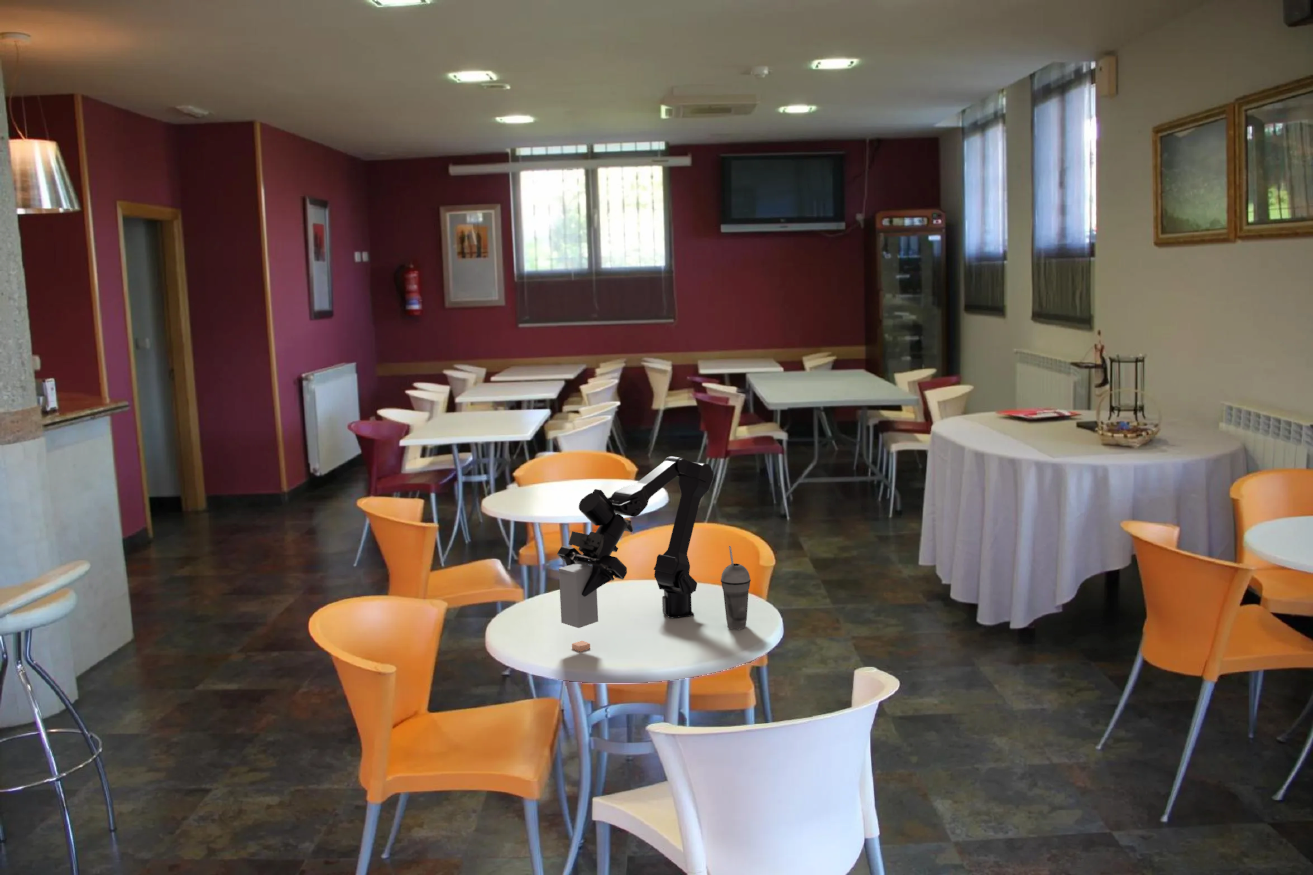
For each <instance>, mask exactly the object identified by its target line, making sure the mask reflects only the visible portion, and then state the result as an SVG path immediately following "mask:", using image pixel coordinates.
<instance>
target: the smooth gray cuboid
mask: <svg viewBox="0 0 1313 875" xmlns="http://www.w3.org/2000/svg"><path fill="white" fill-rule="evenodd" d="M591 574H592V566H591V565H586V564H582V563H575V564H572V565H568V566H567V565H565V566H562V567H559V568H558V578H559V580H558V581H559V597H560V598H559V601H560V617H561V618H560V619H561V620H560V622H561V624H565V625H568V626H571V627H574V628H578V629H581V628H584V627H586V626H589V625H591V624H595V623H598V622H599V614H598V612H599V608H598V591H597V590H598V588H597V589H596V590H594V591H593V592H591V593H590V594H589V595H587V596H586V597H584V596H583V595H582V592H583V589H584V587H585V585H586V583H587V582H588V580H589V578H590V576H591Z"/></svg>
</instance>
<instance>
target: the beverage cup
mask: <svg viewBox="0 0 1313 875" xmlns="http://www.w3.org/2000/svg"><path fill="white" fill-rule="evenodd" d="M728 549H729V556H730V564H729V565H727V566H726V567H725V568H724V570H723V571H722V573H721V577H720V582H721V588H722V591H723V600H724V601H723V602H724V608H725V609H724V610H725V618H726V620H725V621H726V625H727V628H728V629H730V630H744V629H746V628H747V621H748V605H749V589H750V586H751V576H750V573H749V570H748V569H747V568H746V567H745V566H744V565H743V564H740V563H734V558H733V551H732V546H731V545H728Z"/></svg>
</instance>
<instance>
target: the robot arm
mask: <svg viewBox="0 0 1313 875" xmlns="http://www.w3.org/2000/svg"><path fill="white" fill-rule="evenodd" d="M714 475H715V474H714V470H713V469H712V467H711V465H710V464H708V463H704V462H694V461H689V460H686V459H684V458H683V457H677V456H668V457H666V458H665V459H664V460H663V462H661V463H660V464H659V465H658V466H656V467H655V468H654V469H652V470H651V471H650V472H649V473H648V474H646V475H645V476H643V477H642V478H641V479H639V481H637V482H635V483H633V484H631V485H626V486H623V487H621V488H619V489H617V490H616V491H614V492H613V493H612V494H611V496H608V497H607V496H606V495H605V493H604V492H603V490H601V489H597V488H595V489H593V492H590V493H588V494H587V495H585V496H584V497H583V498H581V499H580V501H579V504H578V510H579V511H580V512H581V514H582V515H584V517H586V518H587V520H589V522H591V524H592V525H594V526H597V529H596V530H595V532H594V531H590V532H589V533H588V534H587V533H582V532H578V531H571V534H570V537H569V541H568V545H569V546H567V545H563V546H561V547H560V548H559V550H557V554H556V555H557V556H558V557H559V558H560V559H561V560H563V562H564V563H565V564H566V565H565V566H568V565H572V564H575V563H582V564H586V565H590V566H592V574H591V576H590V578H589V580H588V582H587V583H586V585H585V587H584V589H583V592H582V595H583V596H584V597H586V596H587V595H589V594H590V593H591V592H593V591H594V590H596V589H597V590H598V589H599V588H600V587H602V586H604V585H605V584H608V583H609V582H611V581H614V580H615V579H619V580H622V581H623V580H624V579H625V577H626V575H627V574H628V567H627V566H626V565H625V564H624V563H623V562H622V561H621V560H620V559H619V558H618V557H617V556H613V555H612V553H617V552H618V550H619V547H617V545H618V542H619V541H620V540H621V538H622V536H623V534H624V532H629V533H633V531H634V530H633V526H632V520H630V519H626V518H624V517H623V516H627V517H633V518H636V517H639V515H640V514H641V513H643V511H644V510H645V509H646V508H647V506H648V503H649V500H650V499H651V498H652V497H653V496H654V495H655V494H656V493H658V492H660V490H661V489H663V488H664V487H665V486H666V485H668V484H669V483H670V482H672V481H673V480H674V479H676V477H677V478H678V481H677V482H678V487H679V491H680V499H679V502H678V507H677V511H676V515H675V519H674V523H673V526H672V530H671V535H670V538H669V543H668V547H667V549H666V551H665V552H664V553H663V554H660V553H659V554H657V556H656V562H655V565H654V567H653V571H654V574H653V576H654V578H655V580H656V582H657V586H658V589H659V590H662V591H663V595H662V597H661V599H662V600H661V602H662V603H661V604H662V613H664V615H665V616H666V617H667V618H668V619H675V618H676V619H677V618H684V617H691V616H692V617H693V616H695V613H694V612H693V611H692V607H693V606H692V594H693V593H694V592H696V591H697V586H698V582H697V581H696V580H695V579H694V578H693V577H692V576H691V575H690V570H691V563H690V561H689V556H688V550H689V547H690V543H691V539H692V535H693V530H694V528H695V522H696V519H697V515H698V511H699V507H700V502H701V500H702V498H703V497H704V496H705V494H707V493H708V491H710V487H711V484H712V482H713V479H714ZM572 546H575V547H578V550H577V548H575V547H572ZM581 553H583V554H581Z"/></svg>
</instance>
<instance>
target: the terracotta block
mask: <svg viewBox="0 0 1313 875" xmlns="http://www.w3.org/2000/svg"><path fill="white" fill-rule="evenodd" d="M589 648H590V649H591V643H589V642H587V641H585V640H579V641H577V642H576V641H575V642H573V643H571V649H572V650H574V649H575V651H577V650H578V651H577V652H579V651H580V652H583V650H584V651H587V650H590V649H589ZM586 649H587V650H586Z"/></svg>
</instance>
